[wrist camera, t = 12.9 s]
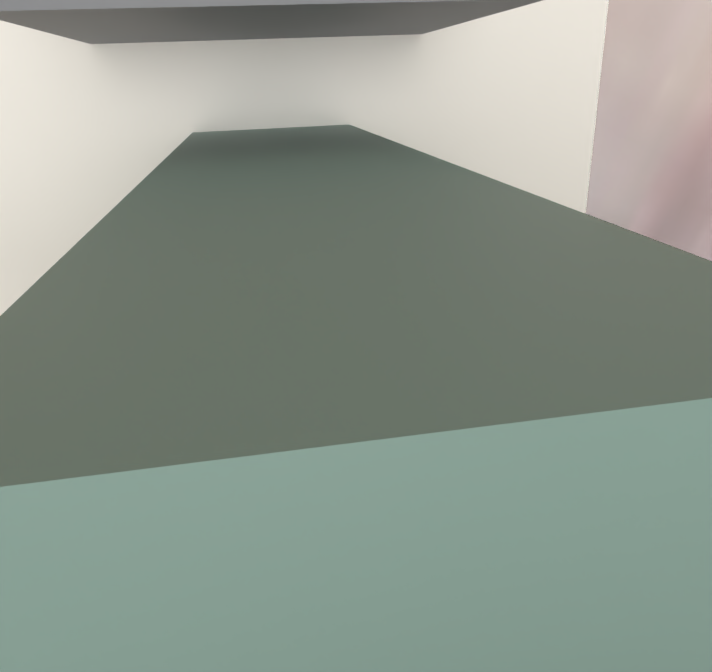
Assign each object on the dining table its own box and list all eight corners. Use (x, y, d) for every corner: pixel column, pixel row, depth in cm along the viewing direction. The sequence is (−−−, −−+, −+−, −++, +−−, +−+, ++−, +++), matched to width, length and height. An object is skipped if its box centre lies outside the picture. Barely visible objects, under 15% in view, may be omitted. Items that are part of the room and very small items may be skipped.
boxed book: (349, 124, 16) (983, 365, 2) (362, 475, 20) (614, 1294, 7) (192, 132, 15) (-210, 513, 2) (240, 492, 20) (234, 1425, 6)
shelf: (578, -79, 17) (972, -269, 8) (529, 489, 24) (701, 733, 15) (-138, -77, 14) (-801, -355, 5) (49, 557, 22) (-92, 899, 13)
